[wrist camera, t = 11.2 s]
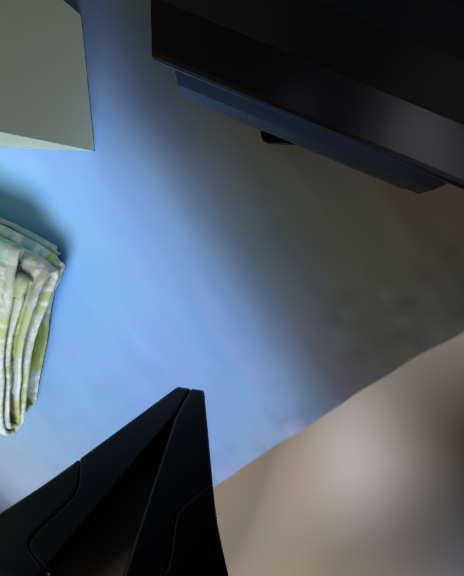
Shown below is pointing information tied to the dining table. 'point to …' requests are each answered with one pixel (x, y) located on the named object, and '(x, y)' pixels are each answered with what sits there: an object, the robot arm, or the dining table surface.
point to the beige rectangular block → (43, 77)
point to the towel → (23, 317)
